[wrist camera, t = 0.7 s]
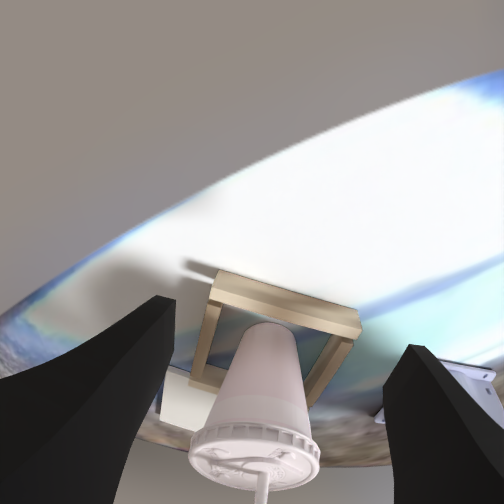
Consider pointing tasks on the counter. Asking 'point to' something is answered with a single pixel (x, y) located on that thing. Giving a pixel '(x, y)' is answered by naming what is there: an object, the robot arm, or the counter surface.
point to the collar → (283, 308)
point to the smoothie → (259, 419)
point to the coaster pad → (184, 401)
